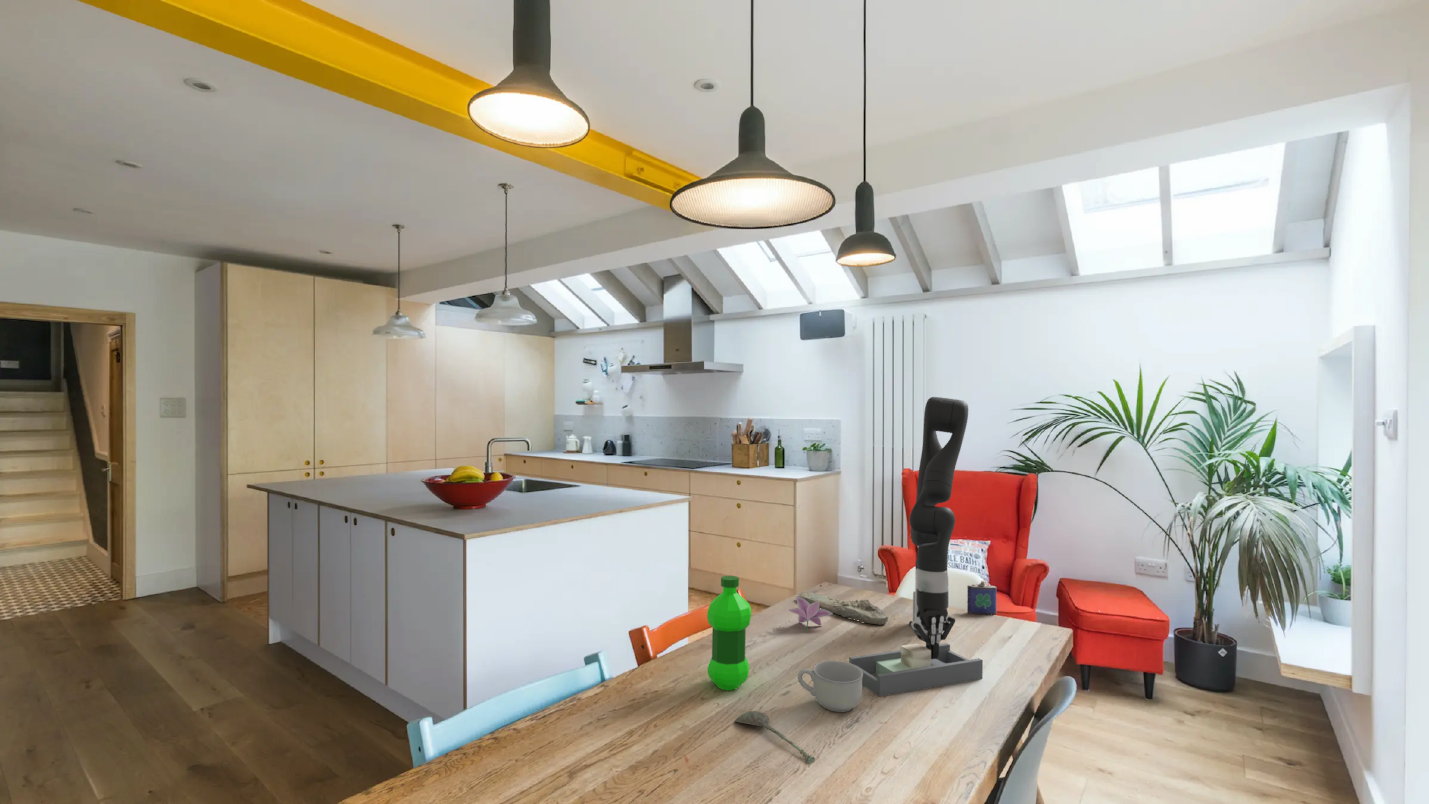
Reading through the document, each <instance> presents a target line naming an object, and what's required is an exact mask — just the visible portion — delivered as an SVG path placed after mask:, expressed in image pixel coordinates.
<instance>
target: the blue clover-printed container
mask: <svg viewBox="0 0 1429 804" xmlns="http://www.w3.org/2000/svg"><path fill="white" fill-rule="evenodd" d="M997 588H998V587H997V586H995V585H986V582H985V581H984V580H980V583H979V584H977V583H976V584H974V583H972V584H969V585H967V596H966V597H967V603H966V605H967V614H969V615H972V614H973V615H975V616H976V615H977V616H996V615H997V613H998V612H997ZM991 614H992V615H991Z"/></svg>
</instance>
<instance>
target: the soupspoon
mask: <svg viewBox="0 0 1429 804" xmlns="http://www.w3.org/2000/svg"><path fill="white" fill-rule="evenodd" d="M734 722H735V723H740V724H746V725H752V726H757V727H761V728H765V729H766V730H768V731H769V732H772V733H773V734H775V735H777V736H778V737H779V738H781V739H782V740H784V741H785V742H786V743H788V744H789V745H791V746H792V747H793V748H794V749H796V750H797V751H798V752H799V754H800V755H802V756H803V758H804V759H805V760H806V764H812V763H814V762H815V760H816V757H815V756H814V755H813V756H812V755H811V754H808V752H807V751H805V749H803V748H801V747H800V746H798V745H797V744H796V743H795V742H793V740H791V739H789V738H788V737H786V735H784V734H783V733H781V732H780V731H778V730H777V729H775V728H773V727H772V726H770V725H769V723H770V717H769V715H768V714H766V713H764V712H762V711H759V710H753V711H752V710H750V711H745V712H743V713H742V714H739V716H738V717H736V718H735V719H734Z"/></svg>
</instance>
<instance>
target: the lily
mask: <svg viewBox="0 0 1429 804" xmlns="http://www.w3.org/2000/svg"><path fill="white" fill-rule="evenodd" d="M798 596H799V595H798ZM798 596H797V595H796V596H795V599H796V603H797V607H793V608H791V609H788V611H789V612H790V613H793V614H796V615H798V623H799V622H803V623H805V622H806V633H807V632H808V630H809V628H808V626H809V621H811V622H812V623H814V624H815V625H817V626H819V625H821V626H822V621H821V618H823V617H828V616H833V615H834V614H833V613H831V612H829V611H827V610H825V609H820V608H819V605H820V603H819V602H814V603H812V604H809V603H808V602H807V601H806V600H804V599H803V598H801V597H798Z"/></svg>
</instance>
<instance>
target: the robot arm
mask: <svg viewBox="0 0 1429 804" xmlns="http://www.w3.org/2000/svg"><path fill="white" fill-rule="evenodd" d="M923 412H924V413H923V415H924V416H923V431H922V433H923V434H922V449H921V455H920V460H919V467H918V468H919V469H918V475H917V486H916V487H917V488H916V498H915V504H914V505H913V507H912V509H911V512H910V515H909V526H910V540H911V542H912V543H913V545H914V546H916V547H917V557H916V559H915V583H914V584H915V585H914V586H915V587H914V589H915V590H914V591H913V593H912V620H911V621H909V622H908V626H909V627H910V628H911V630H912V631H913V632H914V634H915V635H916V637H917V638H918V639H919V640H920V641H923V642H924V643H925V646H926V648H927V649H929V650H931V659H937V658H938V655H939V644H941V642H942V640H943V641H946V640H947V637H948V636H949V634H950V632H951V630H952V628H953V627H954V625H955V623H956V618H954V617H952V616H950V615H949V612H948V608H949V575H948V559H949V546H950V541H951V538H952V534H953V531H954V528H955V525H956V516H955V514H954V511H952V509H951V508H949V507H946V506H937V505H938V504H942V503H943V504H944V503H946V502H949V500H950V498H951V496H952V490H953V483H954V477H955V470H956V466H957V462H958V459H959V455H960V452H961V450H962V446H963V445H962V444H963V441H964V438H965V433H966V429H967V425H968V419H969V418H968V417H969V404H968V403H967V401H965V400H961V399H956V398H947V397H939V396H938V397H937V396H932V397H931V396H930V398H928V399H927V401H926V403H925V408H924V411H923ZM937 432H941V433H948V434H951V436H950V437H949V440H948V441H947V443H945V445H944V446H943V447H942V446H941V444H940V441H939V439H938V435H937Z"/></svg>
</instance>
